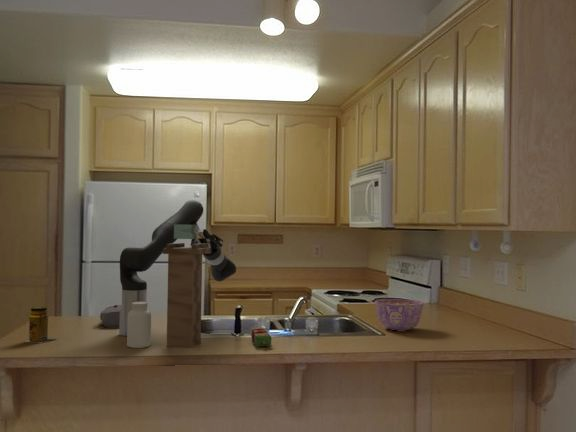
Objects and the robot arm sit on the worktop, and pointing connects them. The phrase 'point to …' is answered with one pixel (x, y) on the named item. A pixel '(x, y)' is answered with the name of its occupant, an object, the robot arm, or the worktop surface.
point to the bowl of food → (399, 313)
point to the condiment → (38, 325)
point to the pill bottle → (139, 326)
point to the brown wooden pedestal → (184, 294)
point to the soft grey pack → (111, 316)
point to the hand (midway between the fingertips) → (199, 231)
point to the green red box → (260, 337)
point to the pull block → (186, 232)
